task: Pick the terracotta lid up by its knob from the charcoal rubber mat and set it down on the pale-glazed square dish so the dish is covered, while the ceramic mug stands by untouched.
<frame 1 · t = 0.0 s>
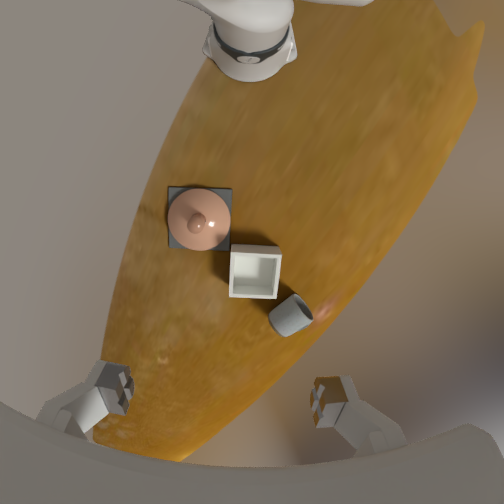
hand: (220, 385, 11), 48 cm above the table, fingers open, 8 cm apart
lid: (199, 219, 57), resting on mat
dish: (253, 266, 61), on the table
ceramic mug: (292, 310, 66), on the table
mat: (199, 219, 57), on the table
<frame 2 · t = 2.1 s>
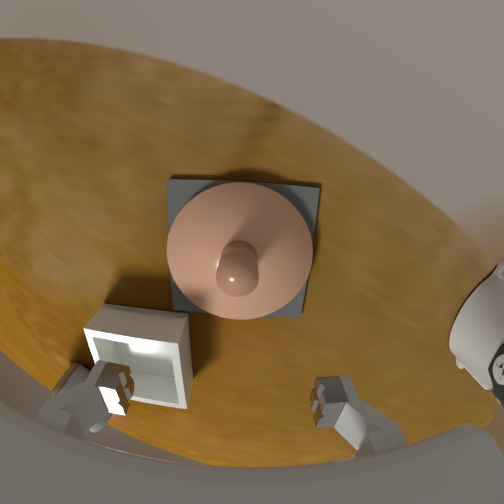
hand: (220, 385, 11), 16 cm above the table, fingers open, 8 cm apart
lid: (239, 254, 25), resting on mat
dish: (149, 344, 30), on the table
ceramic mug: (92, 382, 33), on the table
mat: (239, 252, 26), on the table
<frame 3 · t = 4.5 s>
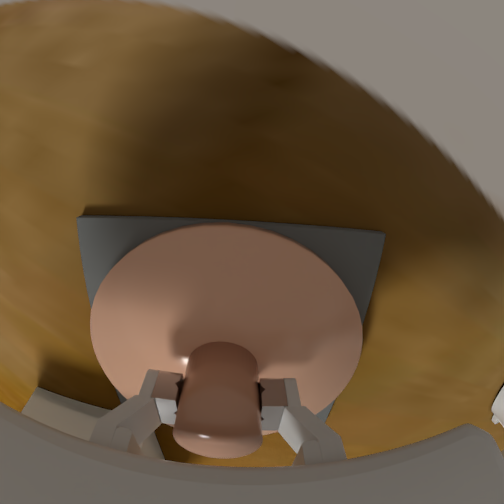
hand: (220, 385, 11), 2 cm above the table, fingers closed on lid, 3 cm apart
lid: (223, 356, 13), resting on mat, touching gripper
dish: (105, 438, 17), on the table
mat: (223, 351, 13), on the table
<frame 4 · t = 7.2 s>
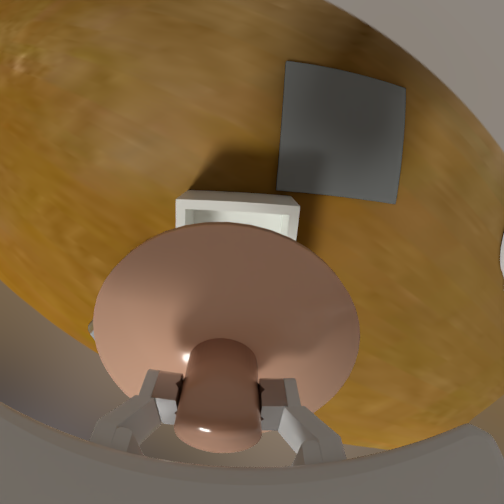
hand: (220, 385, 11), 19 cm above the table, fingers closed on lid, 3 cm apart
lid: (223, 353, 13), point 17 cm above the table, touching gripper
dish: (236, 241, 28), on the table
mat: (346, 132, 24), on the table
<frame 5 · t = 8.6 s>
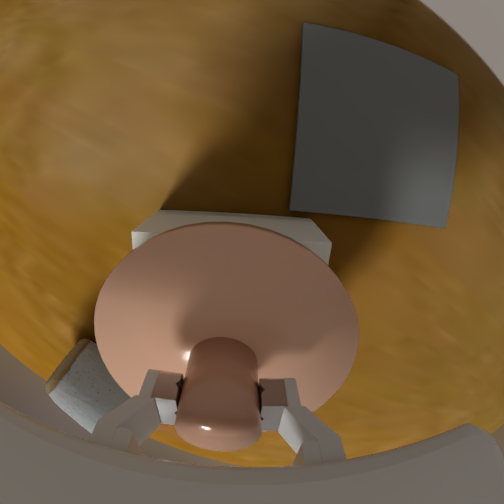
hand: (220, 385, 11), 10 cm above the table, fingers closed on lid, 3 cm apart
lid: (223, 352, 13), point 7 cm above the table, touching gripper
dish: (230, 282, 20), on the table
ceramic mug: (106, 371, 24), on the table
mat: (389, 127, 16), on the table
when the fingers open (8 cm above the table, at t = 10.0 s): lid stays where it is, resting on dish.
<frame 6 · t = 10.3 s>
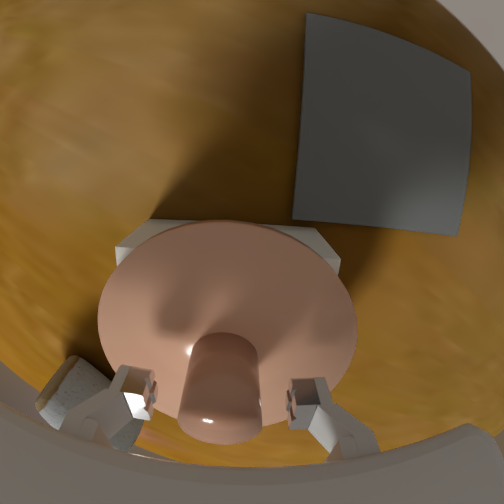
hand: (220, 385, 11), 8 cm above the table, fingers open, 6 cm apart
lid: (225, 347, 13), point 5 cm above the table, touching dish
dish: (227, 297, 18), on the table
ceramic mug: (98, 386, 22), on the table
mat: (399, 128, 14), on the table
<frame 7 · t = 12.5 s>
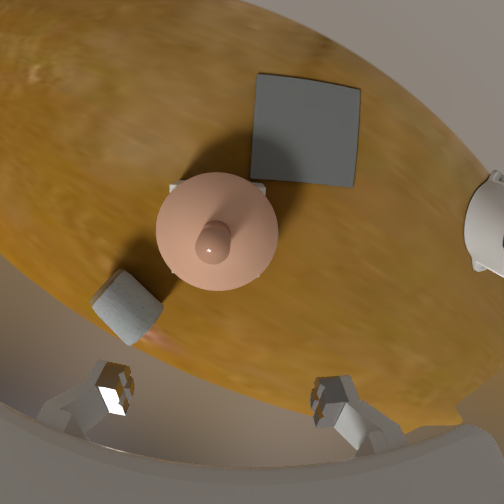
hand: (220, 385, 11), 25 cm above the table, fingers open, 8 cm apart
lid: (216, 233, 30), point 5 cm above the table, touching dish
ceramic mug: (130, 298, 38), on the table
mat: (307, 130, 31), on the table
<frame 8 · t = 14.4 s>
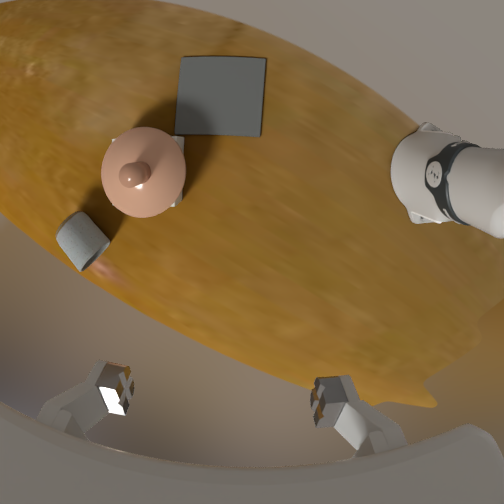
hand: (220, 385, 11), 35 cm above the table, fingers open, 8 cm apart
lid: (142, 172, 36), point 5 cm above the table, touching dish
ceramic mug: (89, 239, 45), on the table
mat: (219, 94, 37), on the table
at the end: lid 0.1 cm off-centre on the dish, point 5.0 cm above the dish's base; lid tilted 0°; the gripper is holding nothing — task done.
